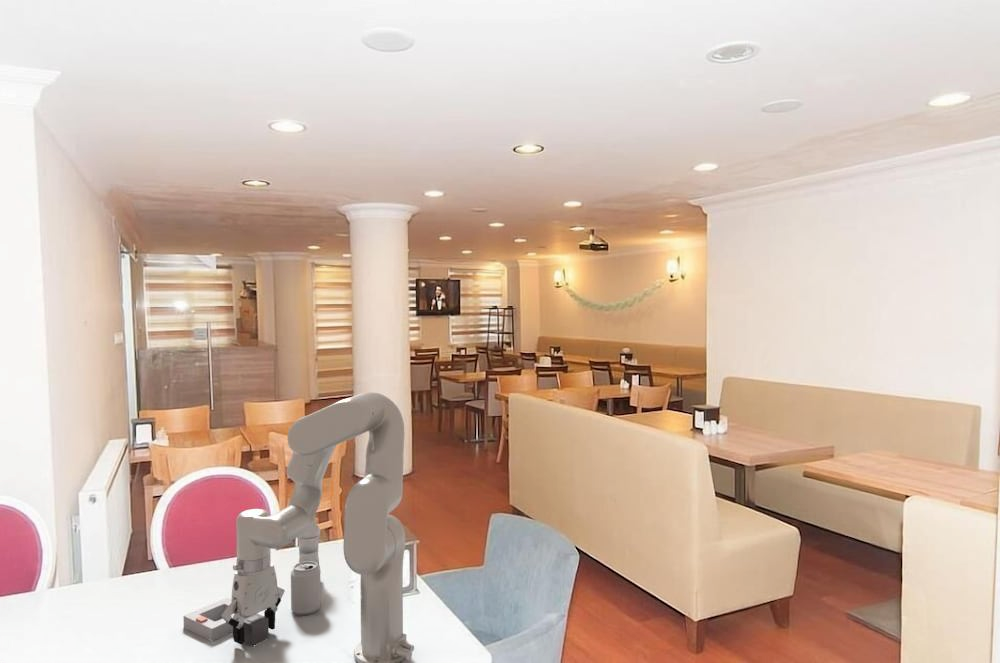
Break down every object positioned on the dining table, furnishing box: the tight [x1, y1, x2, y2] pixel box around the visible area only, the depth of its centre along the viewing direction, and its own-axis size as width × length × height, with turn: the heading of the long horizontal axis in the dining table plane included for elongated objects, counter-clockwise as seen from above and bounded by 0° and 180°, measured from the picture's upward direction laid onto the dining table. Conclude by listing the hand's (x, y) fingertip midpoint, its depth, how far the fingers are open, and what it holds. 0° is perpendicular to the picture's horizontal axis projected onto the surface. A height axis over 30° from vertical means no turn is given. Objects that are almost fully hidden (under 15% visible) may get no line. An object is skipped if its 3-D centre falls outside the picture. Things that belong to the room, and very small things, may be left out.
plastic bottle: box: [297, 515, 322, 574], centre depth 185 cm, size 6×7×20 cm
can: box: [290, 561, 322, 616], centre depth 168 cm, size 8×8×12 cm
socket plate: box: [183, 597, 255, 642], centre depth 161 cm, size 12×12×4 cm
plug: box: [242, 613, 270, 647], centre depth 153 cm, size 4×4×5 cm
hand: (254, 634), depth 153 cm, fingers open, 7 cm apart
